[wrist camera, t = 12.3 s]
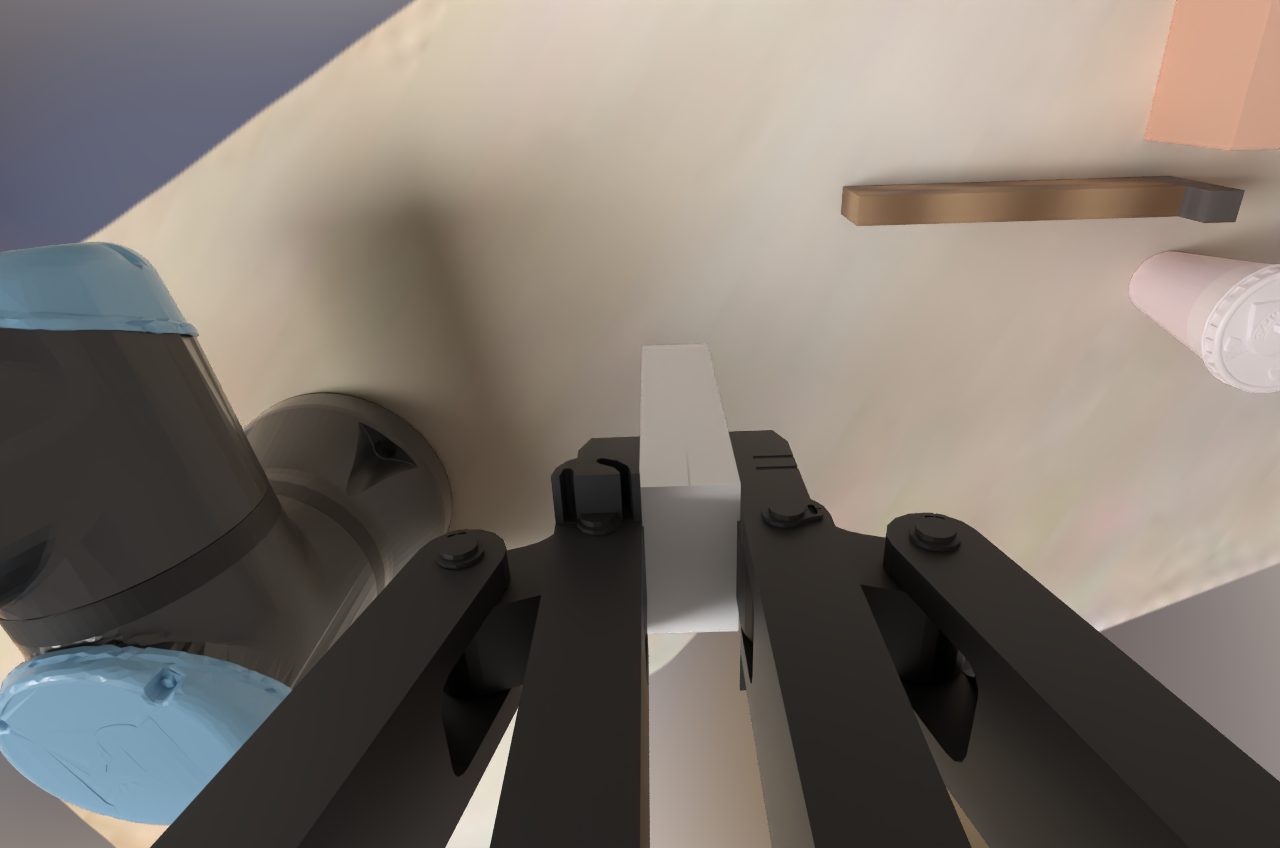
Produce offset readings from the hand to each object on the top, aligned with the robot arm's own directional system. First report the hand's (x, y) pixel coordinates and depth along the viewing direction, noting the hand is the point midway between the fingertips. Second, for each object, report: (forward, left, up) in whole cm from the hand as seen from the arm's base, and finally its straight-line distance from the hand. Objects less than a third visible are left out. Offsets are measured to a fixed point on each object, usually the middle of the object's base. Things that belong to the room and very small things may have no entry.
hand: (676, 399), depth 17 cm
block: (+30, +6, -29) cm, 42 cm away
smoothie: (+29, -5, -29) cm, 41 cm away
